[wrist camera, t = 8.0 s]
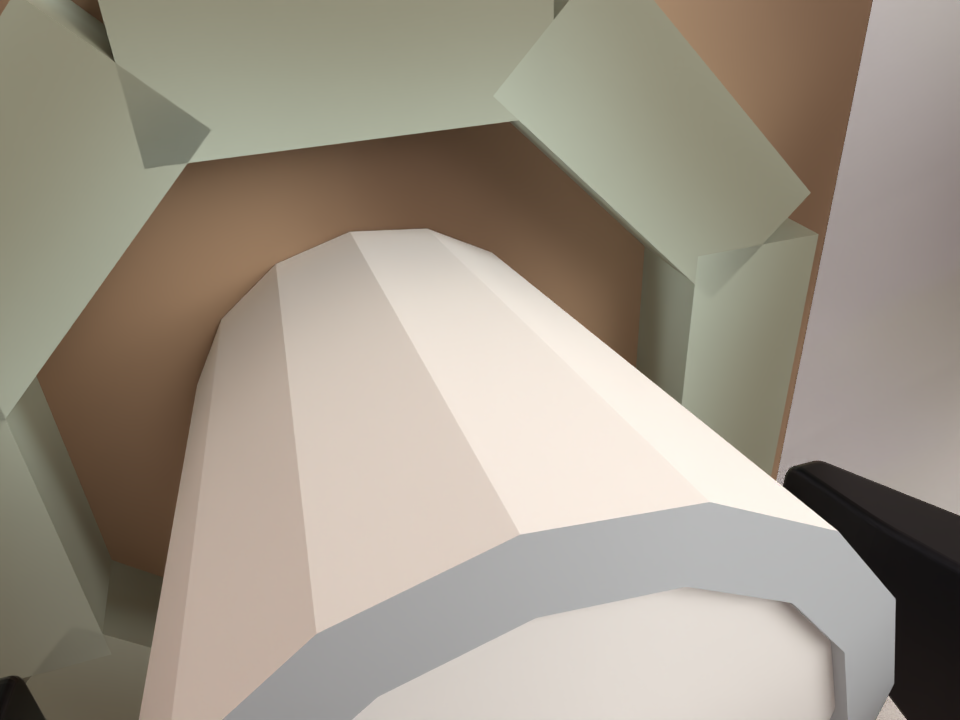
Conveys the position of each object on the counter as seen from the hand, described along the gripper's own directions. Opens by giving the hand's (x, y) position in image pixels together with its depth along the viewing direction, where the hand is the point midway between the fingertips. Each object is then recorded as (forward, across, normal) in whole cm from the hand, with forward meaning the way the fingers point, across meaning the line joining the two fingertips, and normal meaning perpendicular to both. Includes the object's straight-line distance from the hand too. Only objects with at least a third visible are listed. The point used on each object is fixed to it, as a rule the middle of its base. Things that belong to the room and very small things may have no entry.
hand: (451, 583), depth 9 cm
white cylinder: (+4, 0, 0) cm, 4 cm away
